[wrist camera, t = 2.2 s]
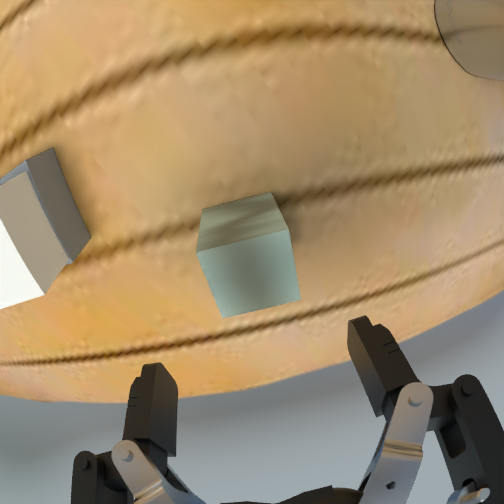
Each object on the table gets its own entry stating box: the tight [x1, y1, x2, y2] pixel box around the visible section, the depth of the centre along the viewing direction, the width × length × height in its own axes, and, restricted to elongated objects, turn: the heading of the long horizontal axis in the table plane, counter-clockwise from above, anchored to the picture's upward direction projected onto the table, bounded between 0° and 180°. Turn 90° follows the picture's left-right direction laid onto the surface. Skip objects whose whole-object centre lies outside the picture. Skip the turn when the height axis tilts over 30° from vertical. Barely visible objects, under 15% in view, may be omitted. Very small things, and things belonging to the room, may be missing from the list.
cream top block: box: [0, 170, 69, 309], centre depth 13 cm, size 7×7×4 cm
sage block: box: [196, 192, 301, 318], centre depth 18 cm, size 5×5×6 cm
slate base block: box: [0, 148, 91, 265], centre depth 16 cm, size 8×8×4 cm
